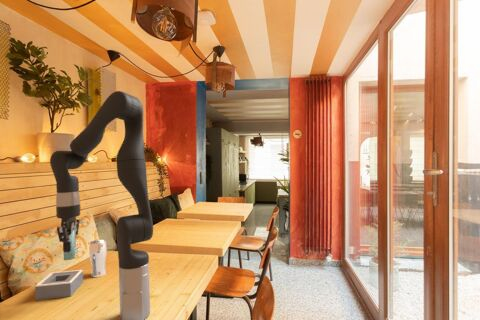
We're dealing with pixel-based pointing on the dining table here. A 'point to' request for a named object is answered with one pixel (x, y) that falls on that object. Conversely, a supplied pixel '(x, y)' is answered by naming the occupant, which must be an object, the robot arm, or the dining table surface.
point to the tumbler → (98, 257)
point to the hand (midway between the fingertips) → (69, 249)
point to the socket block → (59, 284)
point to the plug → (71, 254)
